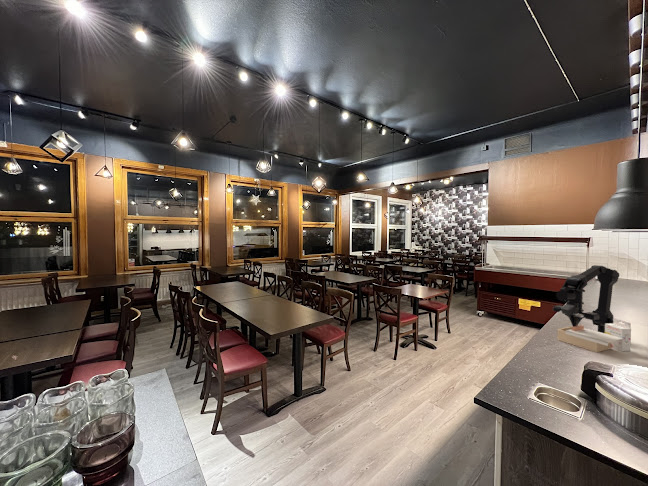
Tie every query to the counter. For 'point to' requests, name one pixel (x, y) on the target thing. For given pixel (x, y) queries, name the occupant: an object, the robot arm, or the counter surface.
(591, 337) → the lid
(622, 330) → the ink cartridge box
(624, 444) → the counter surface
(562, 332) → the wooden box
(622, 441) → the counter surface
